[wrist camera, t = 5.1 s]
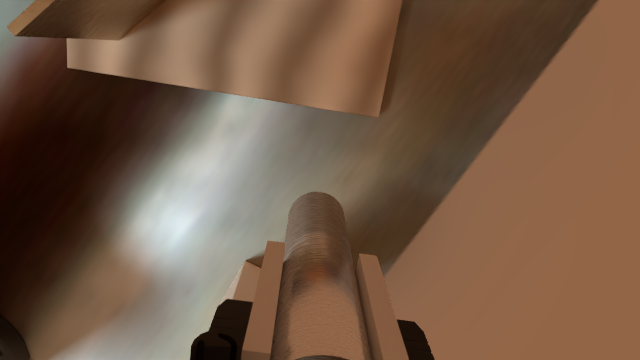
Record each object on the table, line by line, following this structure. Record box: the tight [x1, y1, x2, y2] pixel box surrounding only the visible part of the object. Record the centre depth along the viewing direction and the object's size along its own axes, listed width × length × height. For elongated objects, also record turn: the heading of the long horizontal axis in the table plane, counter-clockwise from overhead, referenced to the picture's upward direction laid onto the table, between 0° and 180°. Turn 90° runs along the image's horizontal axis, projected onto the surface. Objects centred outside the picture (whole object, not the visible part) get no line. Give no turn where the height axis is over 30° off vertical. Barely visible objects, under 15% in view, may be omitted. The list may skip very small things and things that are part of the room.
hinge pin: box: [270, 192, 372, 360], centre depth 17 cm, size 4×4×14 cm
